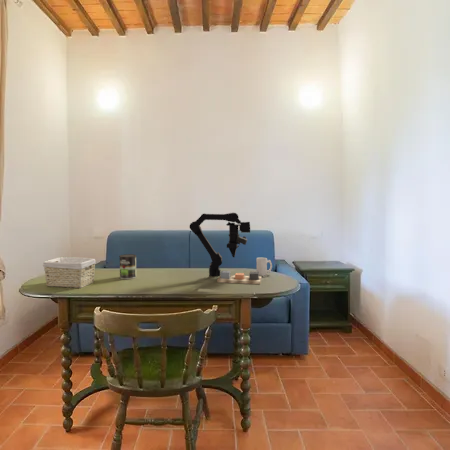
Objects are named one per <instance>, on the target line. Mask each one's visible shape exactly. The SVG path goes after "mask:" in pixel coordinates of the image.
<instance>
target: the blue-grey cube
mask: <svg viewBox="0 0 450 450" xmlns="http://www.w3.org/2000/svg"><path fill="white" fill-rule="evenodd" d="M230 275H231V270H221V278H223V279H230Z"/></svg>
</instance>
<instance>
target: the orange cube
mask: <svg viewBox="0 0 450 450" xmlns="http://www.w3.org/2000/svg"><path fill="white" fill-rule="evenodd" d="M234 275H235V279H244V276H245V273H244V272H236V273H235V274H234Z"/></svg>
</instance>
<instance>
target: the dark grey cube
mask: <svg viewBox="0 0 450 450" xmlns="http://www.w3.org/2000/svg"><path fill="white" fill-rule="evenodd" d="M249 276H250V279H249V280H259V272H257V271H250V272H249Z"/></svg>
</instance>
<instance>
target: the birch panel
mask: <svg viewBox="0 0 450 450" xmlns="http://www.w3.org/2000/svg"><path fill="white" fill-rule="evenodd" d="M262 277H263V276H259V280H249V279H250V275H244V279H235V274H234V275H232V274H230V279H223V278H221V275H220V276H218V278H217V280H216V283H225V284H226V283H227V284H229V283H230V284H246V285H247V284H249V285H252V284H253V285H261V283H262Z"/></svg>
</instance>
